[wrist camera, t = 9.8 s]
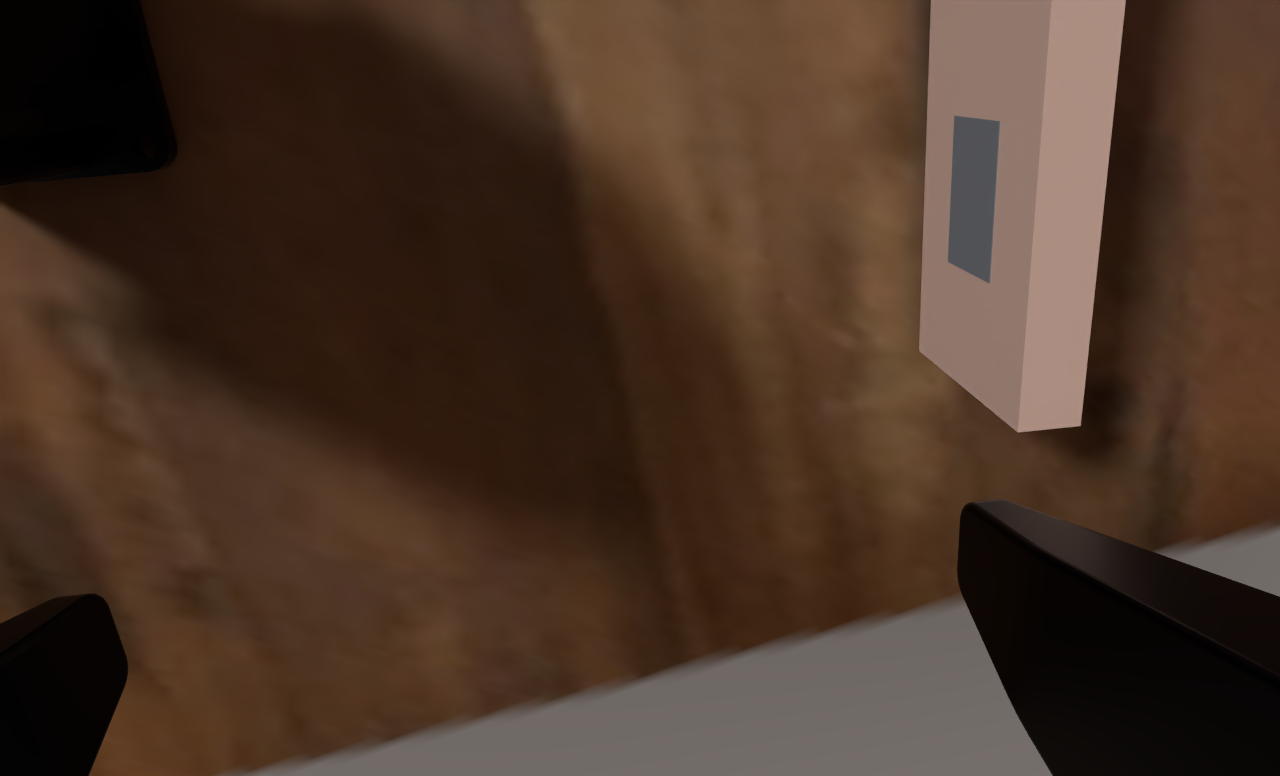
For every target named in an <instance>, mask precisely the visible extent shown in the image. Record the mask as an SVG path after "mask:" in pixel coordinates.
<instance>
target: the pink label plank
mask: <svg viewBox="0 0 1280 776" xmlns="http://www.w3.org/2000/svg"><path fill="white" fill-rule="evenodd" d="M1125 3H1126V0H931V18H930V47H929V77H928V106H927V135H926V165H925V194H924V224H923V253H922V283H921V312H920V342H919V351H920V352H921V353H922V354H923V355H925V356H926V357H927V358H928V359H930V360H931V361H932V362H933V363H934V364H936V365H937V366H938V367H939V368H940V369H942V370H943V371H944V372H945V373H946V374H948V375H949V376H950V377H951V378H953V379H954V380H955V381H956V382H957V383H959V384H960V385H961V386H962V387H963V388H965V389H966V390H967V391H968V392H969V393H971V394H972V395H973V396H974V397H976V398H977V399H978V400H979V401H980V402H982V403H983V404H984V405H985V406H986V407H988V408H989V409H990V410H991V411H992V412H994V413H995V414H996V415H997V416H999V417H1000V418H1001V419H1002V420H1003V421H1005V422H1006V423H1007V424H1008V425H1009V426H1011V427H1012V428H1013V429H1014V430H1015V431H1017V432H1027V431H1037V430H1047V429H1056V428H1066V427H1076V426H1081V418H1082V408H1083V399H1084V389H1085V380H1086V370H1087V361H1088V352H1089V342H1090V333H1091V323H1092V314H1093V304H1094V295H1095V286H1096V276H1097V267H1098V257H1099V248H1100V238H1101V229H1102V220H1103V210H1104V201H1105V191H1106V182H1107V172H1108V163H1109V154H1110V144H1111V135H1112V125H1113V116H1114V106H1115V97H1116V88H1117V78H1118V69H1119V59H1120V50H1121V40H1122V31H1123V22H1124V12H1125Z"/></svg>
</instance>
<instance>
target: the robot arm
mask: <svg viewBox="0 0 1280 776" xmlns="http://www.w3.org/2000/svg"><path fill="white" fill-rule="evenodd" d="M143 135H148V136H149V137H150V138H152V139H153V140H154V142H155V144H156V154H155V155H154V157H149V156H148V155H146V154H145V153H144V152H143V151H142V149H141V147H140V139H141V138H142V136H143ZM176 154H177V144H176V140H175V136H174V132H173V128H172V124H171V120H170V116H169V113H168V109H167V105H166V101H165V97H164V93H163V89H162V86H161V82H160V78H159V74H158V70H157V66H156V62H155V59H154V55H153V51H152V47H151V43H150V39H149V35H148V32H147V28H146V24H145V20H144V16H143V12H142V8H141V5H140V1H139V0H0V188H2V187H7V186H12V185H17V184H22V183H27V182H37V181H48V180H59V179H71V178H82V177H93V176H104V175H116V174H127V173H138V172H149V171H154V170H159V169H162V168H165V167H168V166H169V165H170V164H171V163H172V162H173V161H174V159H175V157H176ZM957 575H958V582H959V587H960V590H961V593H962V596H963V598H964V600H965V602H966V605H967V607H968V609H969V611H970V613H971V616H972V618H973V620H974V622H975V624H976V627H977V629H978V631H979V633H980V635H981V637H982V640H983V642H984V644H985V647H986V649H987V651H988V653H989V655H990V658H991V660H992V662H993V664H994V666H995V669H996V671H997V673H998V675H999V677H1000V680H1001V682H1002V684H1003V686H1004V689H1005V691H1006V693H1007V695H1008V697H1009V699H1010V701H1011V703H1012V705H1013V707H1014V709H1015V712H1016V714H1017V715H1018V717H1019V719H1020V721H1021V723H1022V724H1023V726H1024V728H1025V730H1026V731H1027V733H1028V735H1029V737H1030V738H1031V740H1032V741H1033V743H1034V745H1035V746H1036V748H1037V750H1038V752H1039V753H1040V755H1041V757H1042V758H1043V760H1044V762H1045V764H1046V765H1047V767H1048V768H1049V770H1050V772H1051V774H1052V775H1053V776H1280V597H1279V596H1276V595H1273V594H1270V593H1267V592H1264V591H1262V590H1259V589H1256V588H1253V587H1250V586H1247V585H1245V584H1242V583H1239V582H1236V581H1233V580H1231V579H1227V578H1225V577H1222V576H1219V575H1216V574H1214V573H1211V572H1208V571H1205V570H1202V569H1200V568H1197V567H1194V566H1191V565H1188V564H1185V563H1183V562H1180V561H1177V560H1174V559H1171V558H1168V557H1166V556H1163V555H1160V554H1157V553H1154V552H1152V551H1149V550H1146V549H1143V548H1140V547H1137V546H1135V545H1132V544H1129V543H1126V542H1123V541H1120V540H1118V539H1115V538H1112V537H1109V536H1106V535H1104V534H1101V533H1098V532H1095V531H1092V530H1089V529H1087V528H1084V527H1081V526H1078V525H1075V524H1072V523H1070V522H1067V521H1064V520H1061V519H1058V518H1055V517H1053V516H1050V515H1047V514H1044V513H1041V512H1039V511H1036V510H1033V509H1030V508H1027V507H1024V506H1022V505H1019V504H1016V503H1013V502H1010V501H1007V500H1004V499H996V500H986V501H977V502H971V503H967V504H966V505H965V506H964V508H963V509H962V513H961V516H960V529H959V547H958V565H957ZM127 675H128V662H127V657H126V654H125V651H124V648H123V645H122V642H121V640H120V637H119V634H118V631H117V628H116V625H115V622H114V619H113V617H112V614H111V611H110V608H109V606H108V604H107V602H106V601H105V600H104V598H103V597H101V596H99V595H97V594H80V595H70V596H61V597H56V598H53V599H51V600H48V601H46V602H44V603H42V604H40V605H38V606H36V607H34V608H32V609H30V610H28V611H25V612H23V613H21V614H19V615H17V616H15V617H13V618H11V619H9V620H7V621H5V622H3V623H0V776H89V774H90V771H91V769H92V766H93V764H94V761H95V759H96V757H97V754H98V752H99V749H100V747H101V744H102V742H103V739H104V737H105V734H106V732H107V729H108V727H109V724H110V722H111V719H112V717H113V714H114V712H115V709H116V707H117V705H118V702H119V700H120V697H121V695H122V692H123V690H124V687H125V684H126V681H127Z"/></svg>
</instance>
